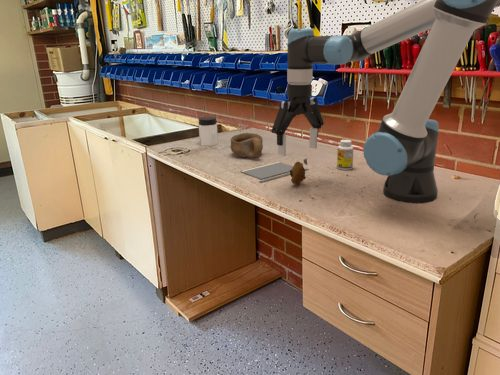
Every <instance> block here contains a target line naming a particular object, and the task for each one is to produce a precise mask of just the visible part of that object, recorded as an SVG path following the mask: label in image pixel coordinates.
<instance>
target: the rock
mask: <svg viewBox="0 0 500 375" xmlns="http://www.w3.org/2000/svg"><path fill="white" fill-rule="evenodd" d="M304 165H308V158H305V159H303V163H302V162H300V161H296V162H295V163H294V165H293V166H294V167H293V168H292V169H291V170H290V172H289V173H290V175H289V176H290V177H291V179H290V180H291V181H290V182H291V183H292V184H293V185H294V186H297V187H299V186H300V184H301V183H302V182H303V181H304V180H306V171H305V169H306V168H305V167H304Z"/></svg>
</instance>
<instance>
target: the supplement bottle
mask: <svg viewBox="0 0 500 375" xmlns="http://www.w3.org/2000/svg"><path fill="white" fill-rule="evenodd" d="M354 150H355V149H354V146H353V144H352V140H350V139H341V140H340V141H339V145H338V146H337V156H336V157H337V158H336V159H337V160H336V167H337V169H338V170H343V171H350V170H352V169H353V167H354V166H353V165H354V164H353V163H354Z"/></svg>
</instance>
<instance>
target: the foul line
mask: <svg viewBox="0 0 500 375" xmlns="http://www.w3.org/2000/svg"><path fill="white" fill-rule="evenodd" d="M304 169H305V172H306V171H309V168H306V167H305V168H304ZM288 176H291V175H290V172H288V173H284V174H281V175H277V176H273V177H270V178H266V179H262V180H259V181H258V182H259V183H261V184H262V183H266V182H269V181H273V180H277V179H280V178H283V177H288Z"/></svg>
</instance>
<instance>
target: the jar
mask: <svg viewBox="0 0 500 375" xmlns="http://www.w3.org/2000/svg"><path fill="white" fill-rule="evenodd" d="M217 121H218V119H217V117H216V116H203V117H199V118H198V136H199V144H200V146H202V147H213V146H218V145H217V144H219V137H218V124H217V123H218V122H217Z"/></svg>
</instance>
